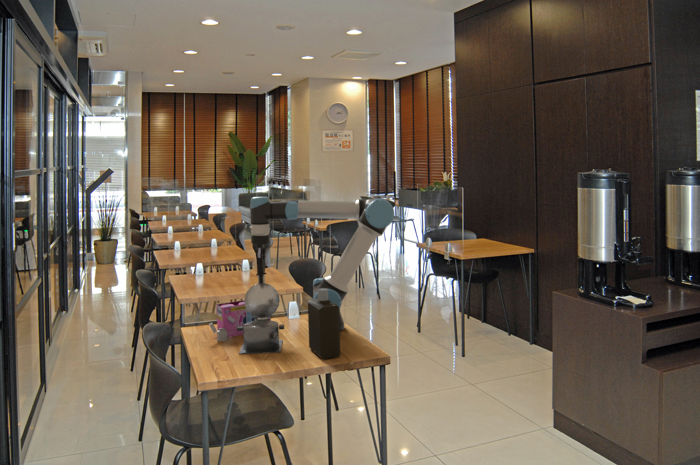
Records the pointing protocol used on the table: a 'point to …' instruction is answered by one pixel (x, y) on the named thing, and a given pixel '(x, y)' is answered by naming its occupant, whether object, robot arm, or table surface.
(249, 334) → the pot
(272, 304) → the lid
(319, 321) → the bottle
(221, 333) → the lighter
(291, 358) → the table surface
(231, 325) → the gum box
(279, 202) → the robot arm
